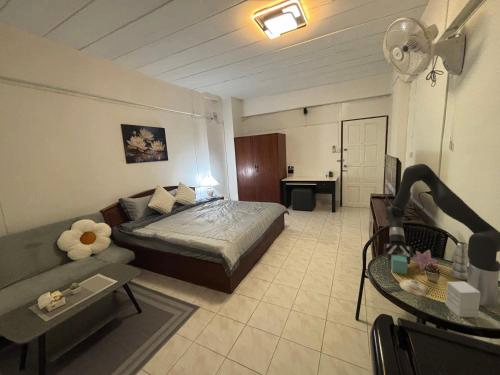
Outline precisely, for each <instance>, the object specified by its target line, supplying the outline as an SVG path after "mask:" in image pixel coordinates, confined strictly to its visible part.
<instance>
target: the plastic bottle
mask: <svg viewBox="0 0 500 375" xmlns="http://www.w3.org/2000/svg"><path fill="white" fill-rule="evenodd" d="M456 246H457V247H455V248H453V251H452V254H453V258H452V259H453V263H452V265H451V266H452V267H451V269H450V275H451V277H453V278H455V279H457V280H461V281H467V276H468V265H469V258H468V243H466V242H463V241H457V243H456Z"/></svg>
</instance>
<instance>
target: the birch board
mask: <svg viewBox="0 0 500 375" xmlns="http://www.w3.org/2000/svg"><path fill="white" fill-rule="evenodd" d="M410 280H411V279H402V280H401V281H399V287H400V288H401V289H402V290H403V291H405V292H407V293H409V294H412V295H414V296H415V295H416V296H427V295H429V294H430V290H429V288H428V287H427V286H426V285H425V284H423V283H421V282H419V288H418V289H417V290H415V289H412V288H410Z"/></svg>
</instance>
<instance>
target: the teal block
mask: <svg viewBox="0 0 500 375" xmlns="http://www.w3.org/2000/svg"><path fill="white" fill-rule="evenodd" d="M406 258H407V257H406V256H405V255H401V254H400V255H399V254H397V255H396V254H391V262H390V267H391V268H390V269H391V270H392V273H394V274H395V273H396V274H402V275H407V274H408V264H407V260H406Z"/></svg>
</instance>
